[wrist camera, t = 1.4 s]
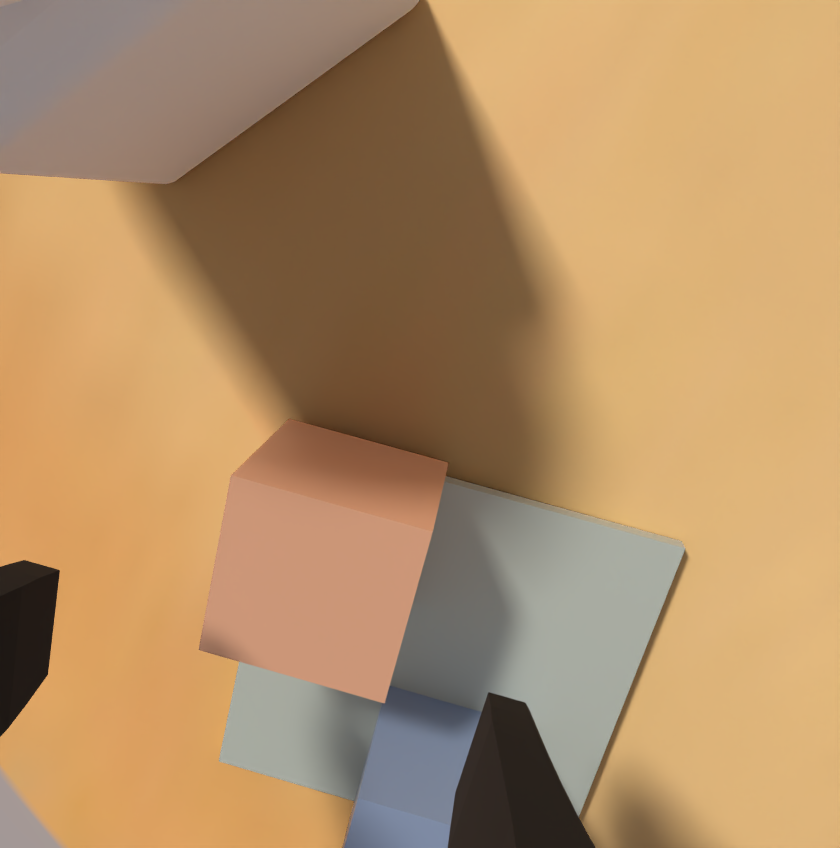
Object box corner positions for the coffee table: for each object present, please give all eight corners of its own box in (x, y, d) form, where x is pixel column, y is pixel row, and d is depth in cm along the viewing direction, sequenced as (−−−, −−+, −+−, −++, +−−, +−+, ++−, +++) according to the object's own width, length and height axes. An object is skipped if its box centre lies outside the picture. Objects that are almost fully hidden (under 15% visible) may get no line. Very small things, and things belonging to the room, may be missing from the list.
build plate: (681, 541, 18) (685, 548, 18) (559, 850, 21) (560, 861, 21) (289, 432, 19) (285, 437, 18) (223, 751, 22) (218, 761, 21)
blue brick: (532, 726, 20) (538, 851, 16) (491, 841, 21) (488, 982, 17) (386, 684, 20) (358, 798, 16) (354, 800, 21) (320, 932, 17)
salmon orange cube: (448, 462, 18) (432, 531, 14) (409, 604, 19) (384, 703, 15) (289, 418, 18) (230, 475, 14) (259, 561, 19) (198, 650, 16)
